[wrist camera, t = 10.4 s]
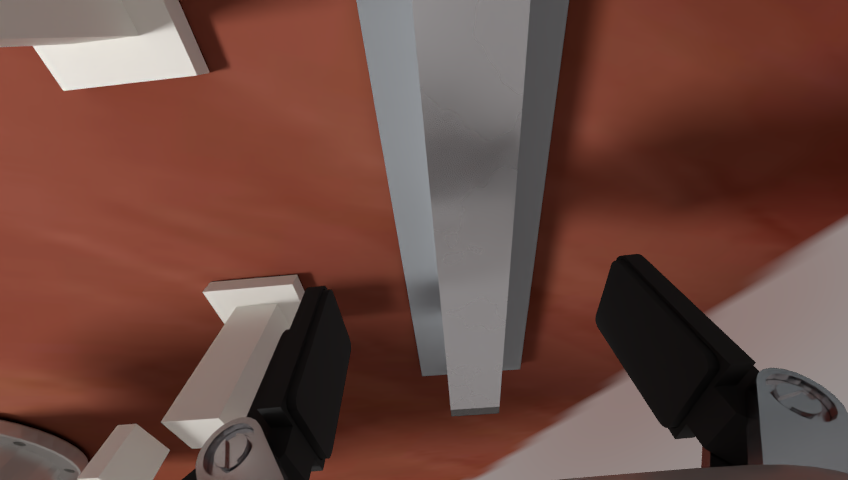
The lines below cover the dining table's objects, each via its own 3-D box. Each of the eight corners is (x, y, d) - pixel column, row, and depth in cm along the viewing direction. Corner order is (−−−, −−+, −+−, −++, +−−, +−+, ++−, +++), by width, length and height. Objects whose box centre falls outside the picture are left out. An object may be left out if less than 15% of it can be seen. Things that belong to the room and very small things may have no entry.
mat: (518, 364, 22) (519, 369, 22) (422, 371, 23) (422, 376, 22) (597, -258, 8) (605, -271, 7) (320, -216, 8) (316, -226, 8)
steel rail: (489, 369, 22) (498, 413, 19) (447, 372, 22) (451, 416, 20) (512, -241, 8) (559, -373, 5) (391, -223, 8) (379, -342, 5)
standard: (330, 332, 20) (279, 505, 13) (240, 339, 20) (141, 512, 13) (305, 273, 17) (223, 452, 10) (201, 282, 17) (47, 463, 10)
